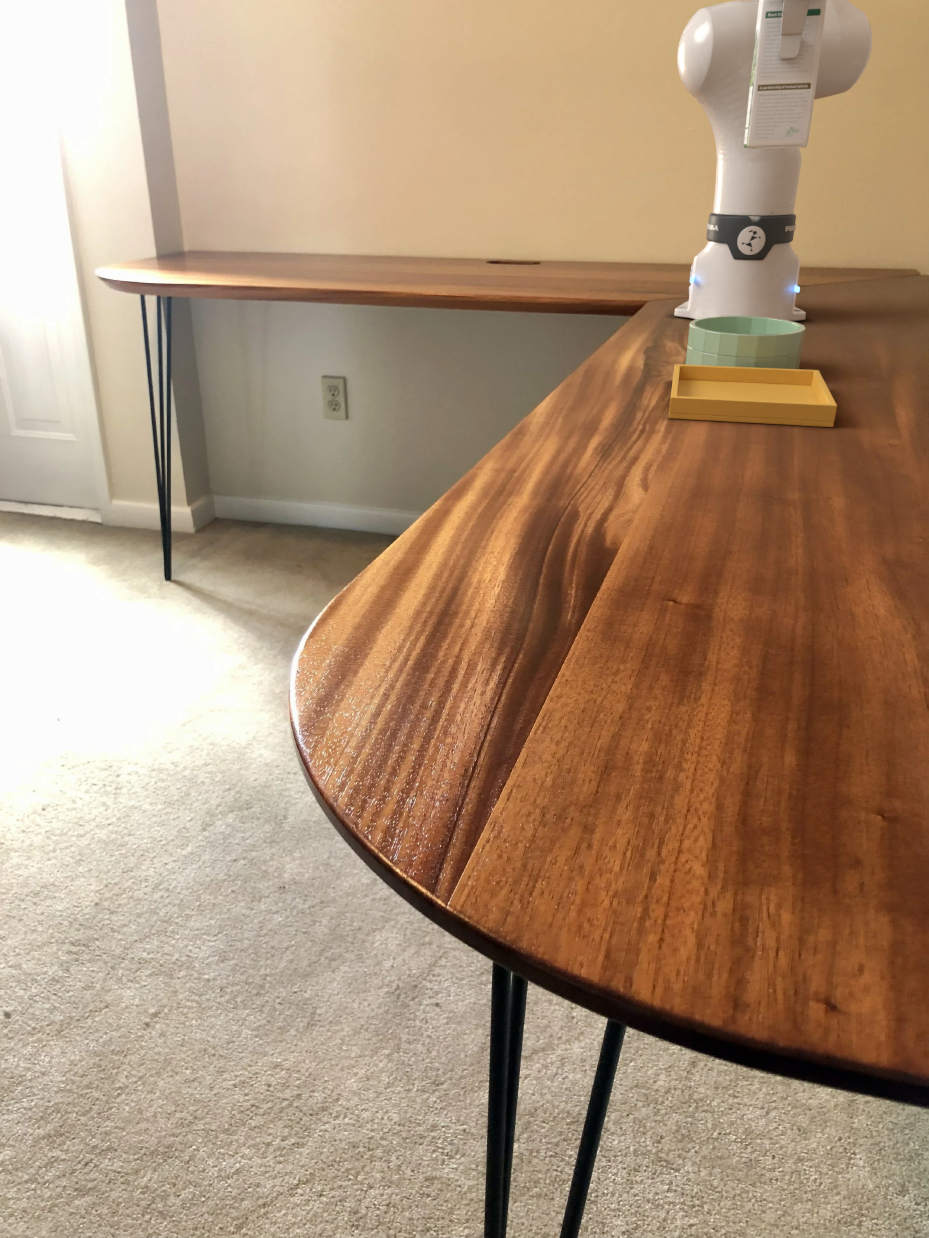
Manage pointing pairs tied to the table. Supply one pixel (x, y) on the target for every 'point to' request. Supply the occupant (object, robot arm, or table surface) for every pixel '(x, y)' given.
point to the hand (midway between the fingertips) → (784, 62)
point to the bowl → (745, 342)
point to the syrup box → (783, 80)
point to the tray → (751, 395)
